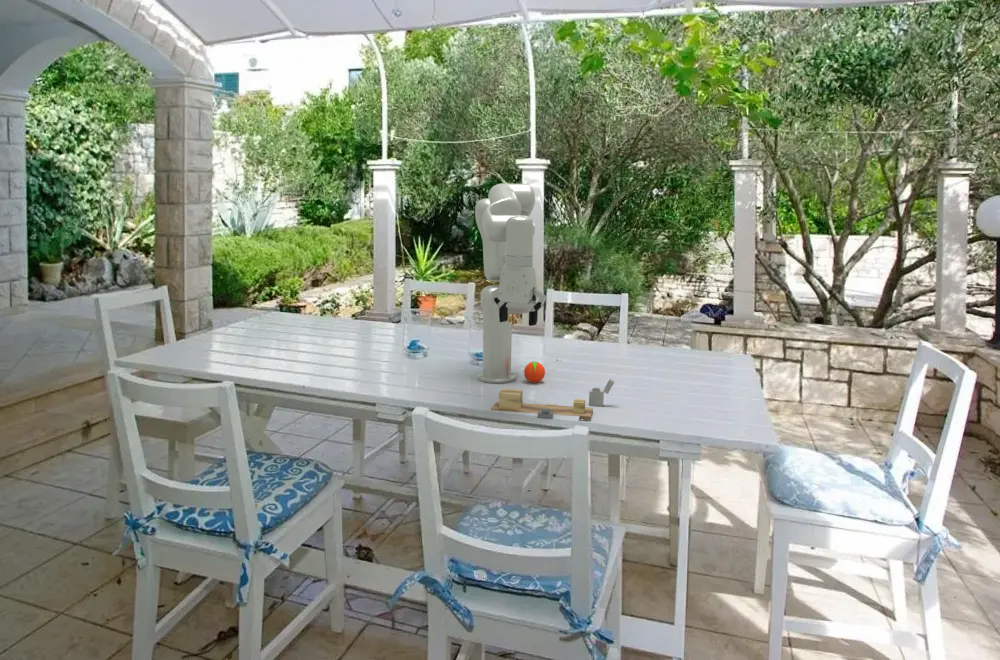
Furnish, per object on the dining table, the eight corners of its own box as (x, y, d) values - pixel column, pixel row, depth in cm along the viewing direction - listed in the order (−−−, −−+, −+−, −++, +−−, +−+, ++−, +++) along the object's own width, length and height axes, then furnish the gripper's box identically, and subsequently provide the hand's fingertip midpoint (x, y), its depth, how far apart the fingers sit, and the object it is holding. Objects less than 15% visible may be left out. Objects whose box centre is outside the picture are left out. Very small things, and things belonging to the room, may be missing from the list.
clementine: (545, 386, 240) (545, 364, 239) (523, 385, 240) (524, 364, 239) (544, 380, 248) (544, 359, 247) (523, 379, 248) (524, 358, 247)
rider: (501, 403, 215) (502, 388, 214) (522, 405, 213) (522, 389, 213) (498, 408, 210) (498, 393, 209) (519, 409, 209) (519, 394, 208)
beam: (497, 404, 219) (497, 390, 218) (592, 410, 214) (593, 396, 213) (489, 415, 207) (489, 401, 206) (590, 422, 202) (590, 407, 201)
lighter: (589, 405, 218) (590, 379, 217) (588, 404, 220) (589, 377, 219) (613, 406, 218) (614, 380, 216) (612, 404, 220) (614, 378, 218)
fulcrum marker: (538, 419, 204) (539, 407, 203) (553, 420, 203) (553, 408, 203) (537, 421, 202) (537, 409, 201) (552, 422, 201) (552, 410, 200)
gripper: (485, 261, 206) (484, 321, 209) (538, 264, 197) (537, 328, 200) (500, 259, 212) (499, 318, 215) (553, 263, 203) (551, 324, 206)
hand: (517, 323), depth 207 cm, fingers open, 9 cm apart
